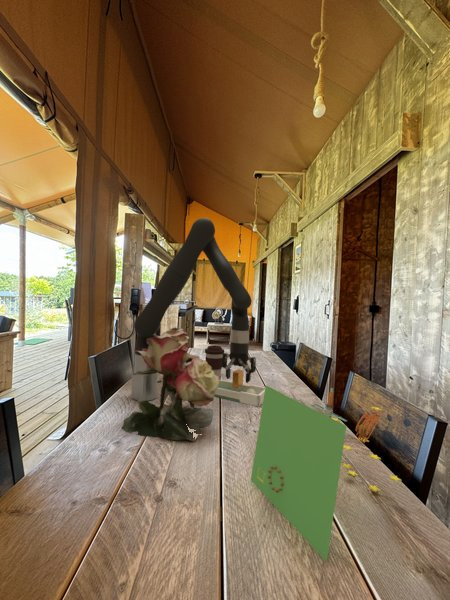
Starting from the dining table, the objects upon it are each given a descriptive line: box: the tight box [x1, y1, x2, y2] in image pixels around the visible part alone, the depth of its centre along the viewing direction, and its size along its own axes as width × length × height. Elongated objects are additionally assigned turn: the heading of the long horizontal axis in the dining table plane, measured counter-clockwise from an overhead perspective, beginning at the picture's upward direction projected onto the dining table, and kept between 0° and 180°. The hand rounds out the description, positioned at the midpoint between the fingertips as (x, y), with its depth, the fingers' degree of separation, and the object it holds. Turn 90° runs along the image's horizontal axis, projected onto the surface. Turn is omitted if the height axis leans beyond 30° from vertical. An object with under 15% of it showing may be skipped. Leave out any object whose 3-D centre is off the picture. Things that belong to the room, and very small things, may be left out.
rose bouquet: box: [121, 327, 221, 442], centre depth 92 cm, size 26×29×30 cm
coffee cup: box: [204, 345, 225, 378], centre depth 143 cm, size 10×10×15 cm
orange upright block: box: [231, 368, 245, 392], centre depth 116 cm, size 6×2×9 cm, turn 153°
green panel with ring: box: [250, 385, 402, 562], centre depth 60 cm, size 22×25×24 cm
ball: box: [246, 388, 256, 394], centre depth 113 cm, size 4×4×4 cm
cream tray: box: [214, 379, 265, 407], centre depth 116 cm, size 11×24×4 cm, turn 63°
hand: (237, 380), depth 116 cm, fingers open, 8 cm apart
